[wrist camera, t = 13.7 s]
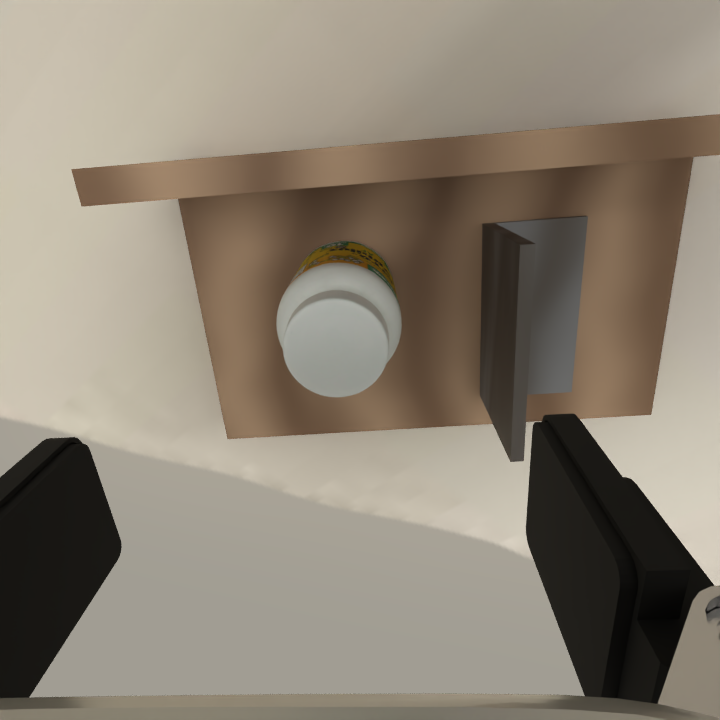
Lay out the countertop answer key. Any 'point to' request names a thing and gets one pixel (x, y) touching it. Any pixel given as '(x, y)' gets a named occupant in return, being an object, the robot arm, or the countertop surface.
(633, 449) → the countertop surface
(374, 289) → the supplement bottle
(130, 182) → the book shelf
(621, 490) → the robot arm
